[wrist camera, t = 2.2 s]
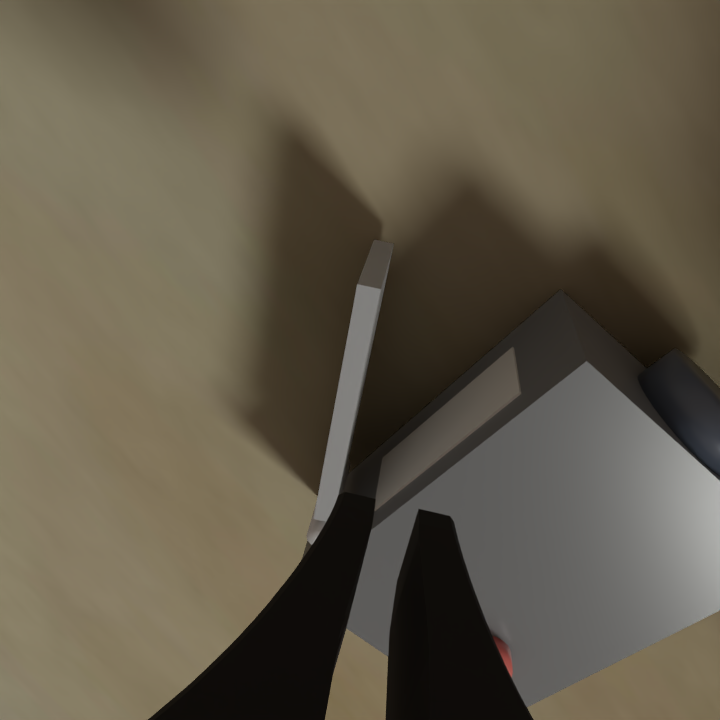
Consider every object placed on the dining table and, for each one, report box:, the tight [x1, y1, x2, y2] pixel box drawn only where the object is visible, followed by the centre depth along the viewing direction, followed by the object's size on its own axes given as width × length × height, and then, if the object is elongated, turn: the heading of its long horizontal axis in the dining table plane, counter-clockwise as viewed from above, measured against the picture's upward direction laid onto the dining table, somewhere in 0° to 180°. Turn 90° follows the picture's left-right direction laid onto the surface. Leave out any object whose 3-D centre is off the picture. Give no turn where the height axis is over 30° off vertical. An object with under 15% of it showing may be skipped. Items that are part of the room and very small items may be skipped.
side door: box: [307, 240, 394, 545], centre depth 19 cm, size 9×1×4 cm, turn 170°
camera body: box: [302, 290, 720, 707], centre depth 20 cm, size 13×9×5 cm
